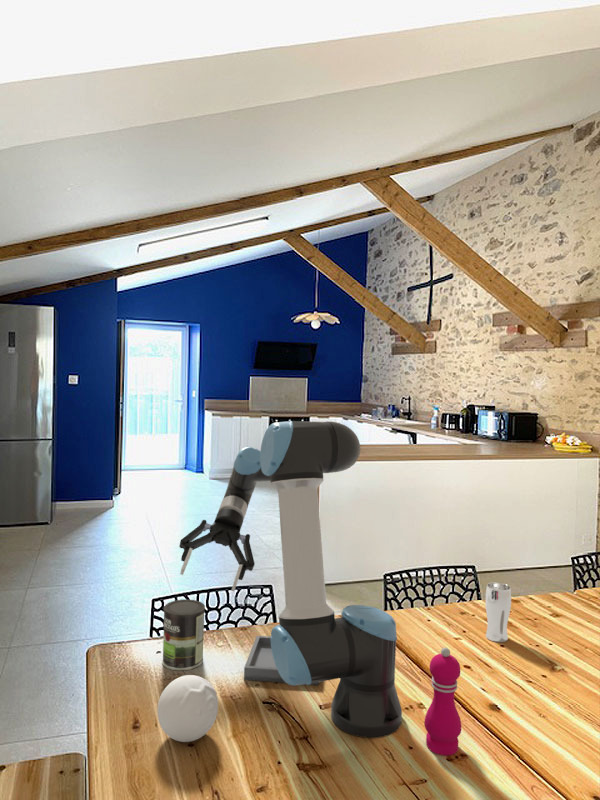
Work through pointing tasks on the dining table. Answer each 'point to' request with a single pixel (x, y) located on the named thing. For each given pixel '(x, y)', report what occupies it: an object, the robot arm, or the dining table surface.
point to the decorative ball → (187, 708)
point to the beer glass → (497, 611)
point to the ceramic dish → (262, 662)
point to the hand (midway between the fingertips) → (207, 580)
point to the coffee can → (183, 634)
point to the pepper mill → (443, 705)
